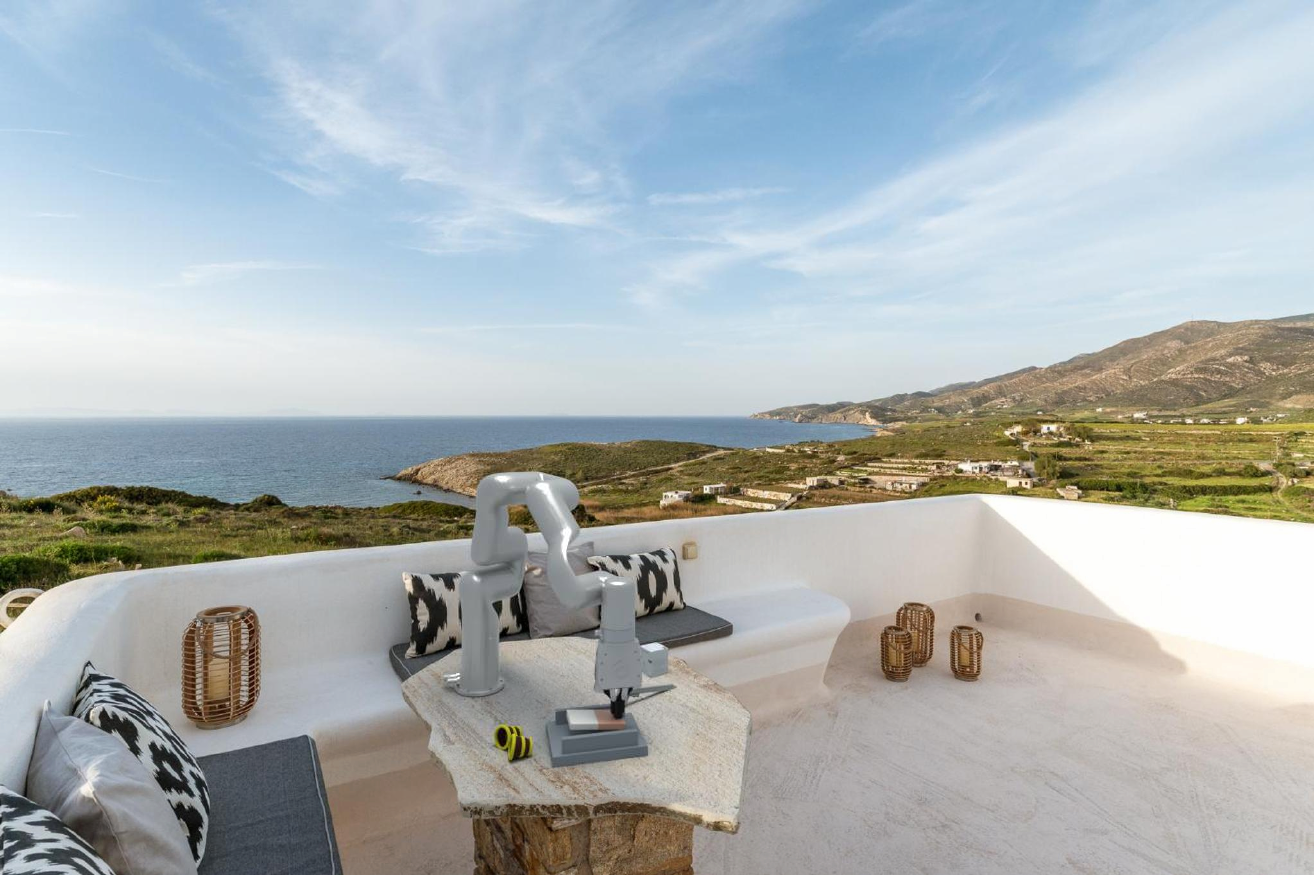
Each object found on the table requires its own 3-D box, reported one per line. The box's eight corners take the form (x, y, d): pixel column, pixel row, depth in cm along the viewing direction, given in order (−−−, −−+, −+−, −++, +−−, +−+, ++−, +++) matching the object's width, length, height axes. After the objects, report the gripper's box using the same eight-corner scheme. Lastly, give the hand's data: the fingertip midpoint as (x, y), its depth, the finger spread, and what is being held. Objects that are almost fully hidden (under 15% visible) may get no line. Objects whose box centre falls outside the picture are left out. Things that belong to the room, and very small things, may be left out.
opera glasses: (532, 762, 128) (537, 737, 129) (509, 764, 125) (513, 739, 126) (513, 743, 136) (518, 720, 137) (491, 745, 133) (496, 721, 134)
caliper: (618, 710, 151) (619, 685, 151) (615, 709, 152) (616, 684, 152) (676, 688, 165) (677, 665, 165) (674, 687, 166) (674, 664, 166)
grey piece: (552, 767, 125) (553, 742, 125) (545, 730, 140) (546, 708, 140) (647, 755, 130) (648, 731, 130) (631, 721, 145) (631, 700, 145)
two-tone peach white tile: (570, 729, 130) (570, 724, 130) (566, 715, 137) (566, 709, 137) (625, 729, 133) (625, 723, 133) (618, 715, 140) (619, 709, 140)
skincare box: (638, 671, 176) (639, 645, 176) (655, 666, 180) (656, 641, 180) (651, 678, 172) (651, 651, 172) (668, 673, 175) (668, 647, 175)
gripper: (587, 642, 131) (586, 728, 131) (654, 636, 135) (654, 720, 135) (582, 631, 138) (581, 712, 138) (646, 626, 142) (645, 705, 142)
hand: (617, 716), depth 136 cm, fingers closed
